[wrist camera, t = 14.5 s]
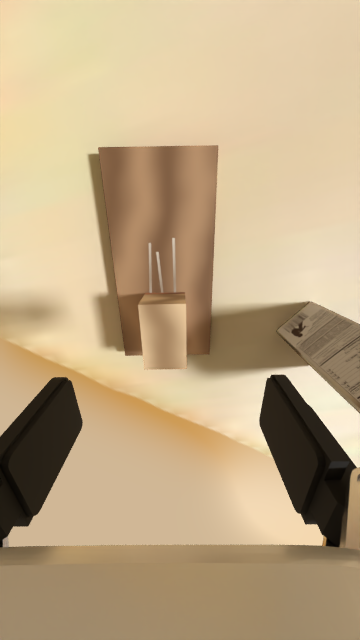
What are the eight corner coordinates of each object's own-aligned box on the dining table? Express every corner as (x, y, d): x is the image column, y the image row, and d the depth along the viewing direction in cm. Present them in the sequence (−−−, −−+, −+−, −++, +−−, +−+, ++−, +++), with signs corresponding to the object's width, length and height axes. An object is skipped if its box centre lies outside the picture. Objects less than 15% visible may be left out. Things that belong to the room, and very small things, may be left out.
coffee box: (347, 338, 30) (512, 436, 15) (310, 366, 32) (427, 478, 17) (311, 298, 28) (464, 367, 13) (273, 330, 30) (371, 424, 15)
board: (215, 151, 22) (218, 145, 21) (208, 348, 31) (209, 354, 29) (103, 153, 22) (98, 147, 21) (127, 350, 31) (125, 355, 29)
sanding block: (184, 292, 26) (186, 303, 21) (185, 347, 29) (186, 368, 24) (145, 293, 26) (138, 304, 21) (149, 348, 29) (144, 369, 24)
